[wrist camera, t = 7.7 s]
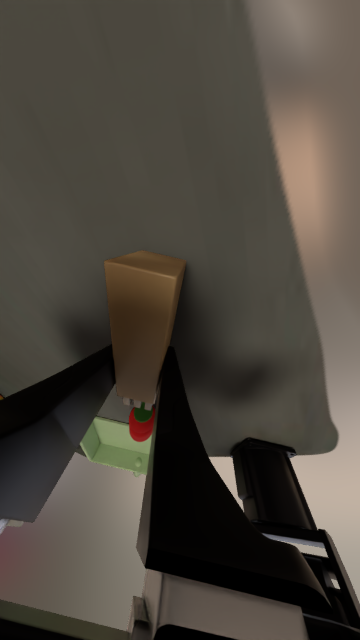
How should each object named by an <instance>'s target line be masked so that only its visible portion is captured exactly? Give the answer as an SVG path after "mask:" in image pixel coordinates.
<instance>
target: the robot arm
mask: <svg viewBox="0 0 360 640" xmlns="http://www.w3.org/2000/svg"><path fill="white" fill-rule="evenodd" d="M115 383H116V379H115V369H114V359H113V349H112V344H111V345H109V346H107V347H105V348H103V349H101V350H99V351H98V352H96V353H94V354H92V355H90V356H88V357H87V358H85V359H83V360H81V361H79V362H77V363H76V364H74V365H73V366H70V367H68V368H66V369H64V370H63V371H61V372H59V373H57V374H55V375H53V376H51V377H49V378H47V379H45V380H43V381H40V382H38V383H36V384H34V385H32V386H30V387H28V388H25V389H23V390H21V391H19V392H17V393H15V394H12V395H10V396H8V397H6V398H4V399H1V400H0V535H1V533H2V532H3V530H4V529H5V527H6V526H7V524H8V523H9V521H10V520H16V521H24V522H31V523H33V522H34V521H35V519H36V518H37V516H38V514H39V513H40V511H41V509H42V508H43V506H44V504H45V502H46V501H47V499H48V497H49V496H50V494H51V492H52V490H53V489H54V487H55V485H56V484H57V482H58V480H59V478H60V477H61V475H62V473H63V472H64V470H65V468H66V466H67V465H68V463H69V461H70V460H71V458H72V456H73V455H74V453H75V451H76V449H77V448H78V446H79V444H80V443H81V441H82V439H83V437H84V436H85V434H86V432H87V431H88V429H89V427H90V425H91V424H92V422H93V420H94V419H95V417H96V415H97V413H98V412H99V410H100V408H101V407H102V405H103V403H104V402H105V400H106V398H107V396H108V395H109V393H110V391H111V390H112V388H113V386H114V384H115ZM230 455H231V458H233V464H234V470H235V478H236V485H237V492H238V497H239V498H240V499H241V500H242V501H243V507H244V512H243V510H242V509H241V507H240V506H239V504H238V503H237V501H236V500H235V498H234V497H233V495H232V494H231V492H230V491H229V489H228V488H227V486H226V485H225V483H224V482H223V480H222V479H221V477H220V475H219V474H218V472H217V471H216V470H215V468H214V466H213V465H212V463H211V461H210V459H209V457H208V455H207V453H206V450H205V448H204V445H203V443H202V440H201V437H200V435H199V432H198V429H197V427H196V424H195V421H194V419H193V416H192V413H191V410H190V407H189V403H188V400H187V396H186V393H185V388H184V384H183V380H182V376H181V372H180V369H179V365H178V361H177V357H176V353H175V349H174V347H172V346H168V349H167V352H166V355H165V358H164V361H163V366H162V372H161V377H160V382H159V389H158V396H157V403H156V410H155V418H154V425H153V432H152V439H151V446H150V453H149V460H148V468H147V474H146V482H145V489H144V497H143V503H142V510H141V518H140V524H139V532H138V539H137V545H136V548H137V551H138V553H139V555H140V557H141V560H142V562H143V564H144V566H145V568H146V574H145V581H144V587H143V593H142V598H140V597H136V596H133V600H132V605H131V610H130V616H129V621H128V627H127V631H123V630H119V629H115V628H111V627H107V626H103V625H99V624H95V623H91V622H87V621H83V620H79V619H75V618H71V617H67V616H63V615H59V614H56V613H52V612H47V611H43V610H39V609H36V608H32V607H28V606H24V605H20V604H16V603H12V602H8V601H4V600H0V640H360V604H359V601H358V599H357V596H356V594H355V591H354V589H353V586H352V584H351V581H350V579H349V576H348V574H347V572H346V570H345V567H344V565H343V563H342V561H341V558H340V556H339V554H338V552H337V549H336V547H335V545H334V542H333V540H332V538H331V537H330V535H329V534H328V533H327V532H326V531H325V530H322V529H318V530H317V527H316V525H315V522H314V520H313V517H312V515H311V512H310V509H309V507H308V504H307V502H306V499H305V497H304V494H303V492H302V489H301V487H300V484H299V482H298V479H297V477H296V474H295V471H294V469H293V466H292V464H291V461H290V458H292V457H294V456H296V455H297V454H296V452H295V450H294V449H290V448H285V447H281V446H277V445H273V444H268V443H264V442H260V441H256V440H251V439H248V440H246V441H245V442H243V443H242V444H241V445H240V446H238V447H237V448H236V449H235V450H233V451H232V452H231V453H230ZM273 539H274V540H273ZM277 540H280V541H277ZM281 541H285V542H292V543H297V544H303V545H309V546H315V547H321V548H325V549H326V552H327V555H328V557H329V558H328V557H323V556H317V555H312V554H307V553H302V552H300V551H299V550H298V548H297V547H295V546H293V545H291V544H288V543H285V542H281ZM331 579H334V580H337V581H338V584H339V587H340V589H336V588H335V587H334V585H333V583H332V581H331Z"/></svg>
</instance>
